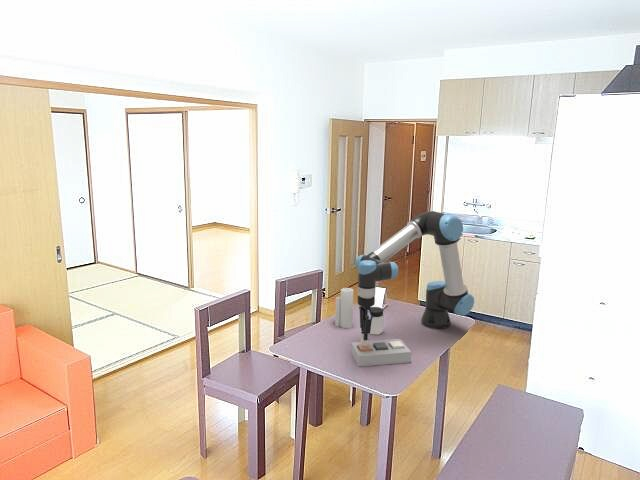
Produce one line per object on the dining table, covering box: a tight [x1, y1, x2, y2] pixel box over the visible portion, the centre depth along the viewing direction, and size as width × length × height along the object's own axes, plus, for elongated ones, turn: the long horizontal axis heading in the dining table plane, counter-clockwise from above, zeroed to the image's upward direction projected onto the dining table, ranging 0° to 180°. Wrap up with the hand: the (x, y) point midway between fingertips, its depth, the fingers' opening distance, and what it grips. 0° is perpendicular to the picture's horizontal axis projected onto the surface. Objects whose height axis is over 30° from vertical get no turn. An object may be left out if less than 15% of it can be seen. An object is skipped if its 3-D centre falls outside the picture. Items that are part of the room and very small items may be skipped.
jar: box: [368, 306, 385, 336], centre depth 242 cm, size 9×8×12 cm
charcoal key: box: [374, 342, 388, 350], centre depth 214 cm, size 5×5×3 cm
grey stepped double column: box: [334, 287, 354, 329], centre depth 249 cm, size 11×7×20 cm, turn 48°
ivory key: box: [389, 341, 404, 349], centre depth 215 cm, size 5×5×3 cm
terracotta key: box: [358, 343, 372, 352], centre depth 212 cm, size 5×5×3 cm
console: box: [350, 338, 412, 368], centre depth 214 cm, size 24×14×5 cm, turn 101°
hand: (364, 345), depth 212 cm, fingers closed
